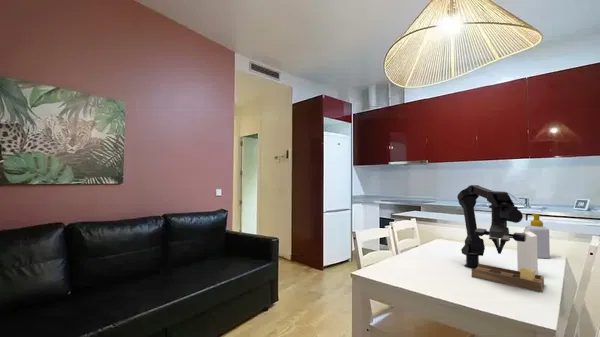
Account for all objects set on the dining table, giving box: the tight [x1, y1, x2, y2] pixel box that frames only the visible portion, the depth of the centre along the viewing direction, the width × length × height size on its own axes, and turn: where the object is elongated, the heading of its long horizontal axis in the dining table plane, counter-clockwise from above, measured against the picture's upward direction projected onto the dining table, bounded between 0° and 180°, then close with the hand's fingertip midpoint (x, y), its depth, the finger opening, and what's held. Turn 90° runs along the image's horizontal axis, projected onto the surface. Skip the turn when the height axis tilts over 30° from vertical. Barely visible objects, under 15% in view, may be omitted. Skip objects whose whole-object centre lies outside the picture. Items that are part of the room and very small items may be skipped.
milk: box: [516, 228, 539, 275], centre depth 138 cm, size 6×6×22 cm
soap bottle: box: [524, 213, 551, 259], centre depth 168 cm, size 9×9×25 cm
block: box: [520, 268, 535, 281], centre depth 121 cm, size 4×4×5 cm
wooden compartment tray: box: [471, 263, 545, 293], centre depth 128 cm, size 12×25×4 cm, turn 45°
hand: (499, 253), depth 128 cm, fingers closed
